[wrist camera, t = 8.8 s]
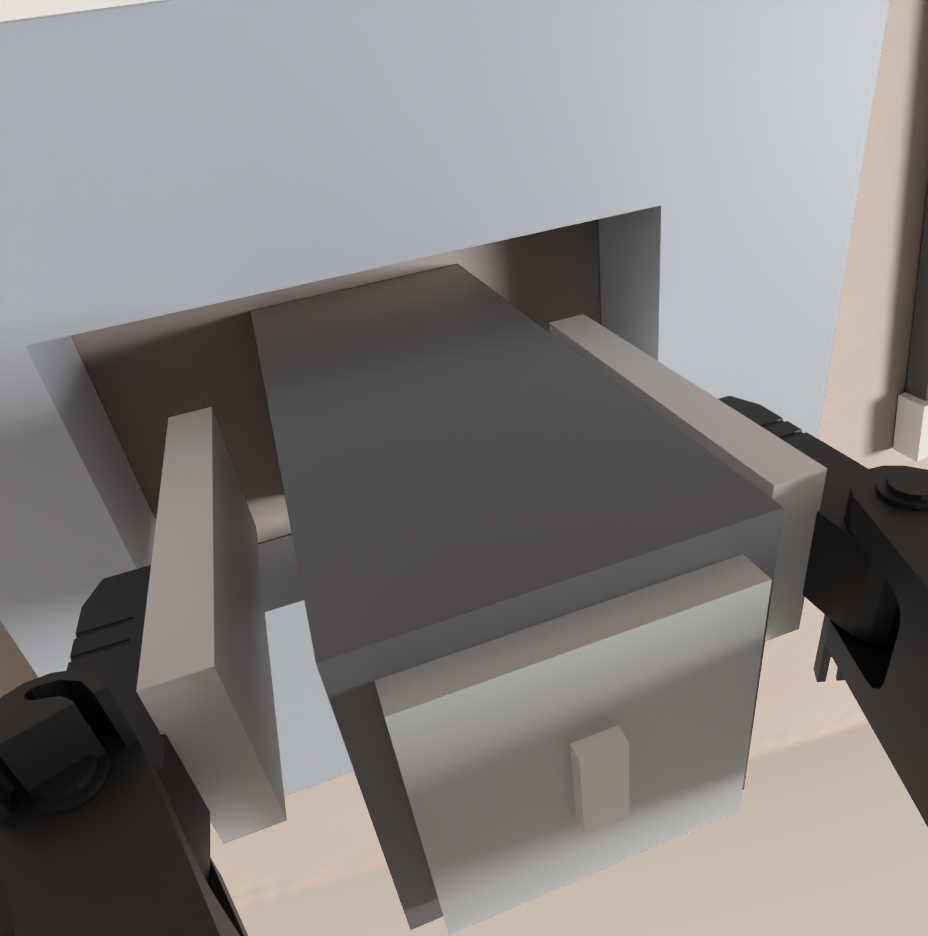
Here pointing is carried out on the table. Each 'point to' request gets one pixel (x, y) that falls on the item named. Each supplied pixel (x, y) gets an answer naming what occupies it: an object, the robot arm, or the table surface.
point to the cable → (916, 371)
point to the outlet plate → (396, 218)
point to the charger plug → (511, 590)
